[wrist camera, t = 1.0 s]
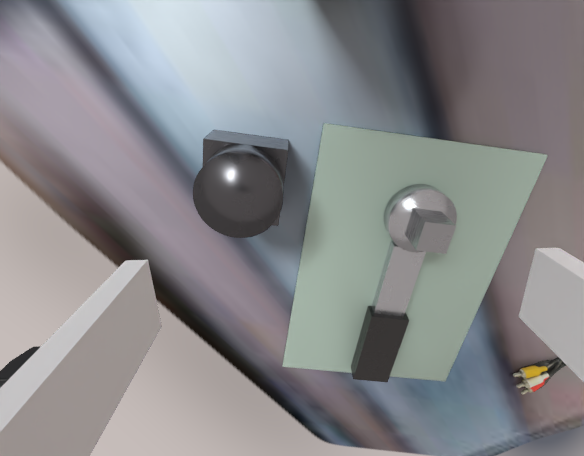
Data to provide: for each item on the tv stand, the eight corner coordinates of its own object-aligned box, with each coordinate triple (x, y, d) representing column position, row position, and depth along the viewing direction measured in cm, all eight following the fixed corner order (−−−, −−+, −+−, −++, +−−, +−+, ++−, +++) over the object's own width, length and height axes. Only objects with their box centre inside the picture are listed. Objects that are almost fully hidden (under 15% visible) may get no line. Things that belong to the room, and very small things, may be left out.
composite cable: (587, 332, 40) (604, 348, 38) (594, 359, 42) (611, 375, 40) (503, 364, 42) (515, 381, 40) (513, 388, 44) (525, 406, 42)
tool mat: (323, 122, 29) (324, 123, 29) (544, 154, 31) (547, 155, 30) (282, 364, 41) (282, 366, 41) (443, 378, 43) (445, 381, 42)
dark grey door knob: (213, 129, 30) (193, 147, 23) (288, 139, 30) (288, 159, 24) (211, 199, 32) (192, 232, 26) (279, 207, 33) (277, 242, 26)
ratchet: (392, 179, 31) (410, 199, 27) (456, 188, 32) (484, 208, 27) (342, 365, 41) (349, 403, 36) (391, 370, 41) (404, 407, 37)
